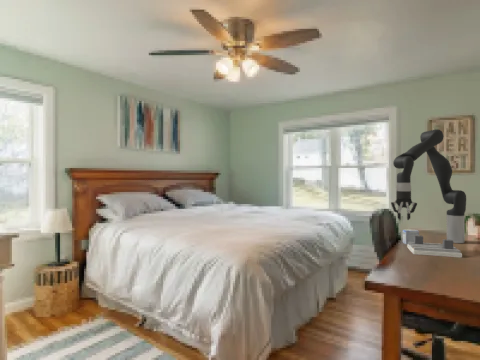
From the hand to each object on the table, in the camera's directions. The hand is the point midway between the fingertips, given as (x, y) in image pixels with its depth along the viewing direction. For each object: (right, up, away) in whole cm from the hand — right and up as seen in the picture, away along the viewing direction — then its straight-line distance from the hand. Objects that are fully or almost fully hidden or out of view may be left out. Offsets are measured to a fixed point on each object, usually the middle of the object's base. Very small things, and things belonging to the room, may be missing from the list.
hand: (403, 219), depth 169 cm
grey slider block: (+16, -15, -14) cm, 26 cm away
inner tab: (+7, -15, -2) cm, 17 cm away
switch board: (+12, -17, -8) cm, 22 cm away
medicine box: (+11, -17, +12) cm, 24 cm away
